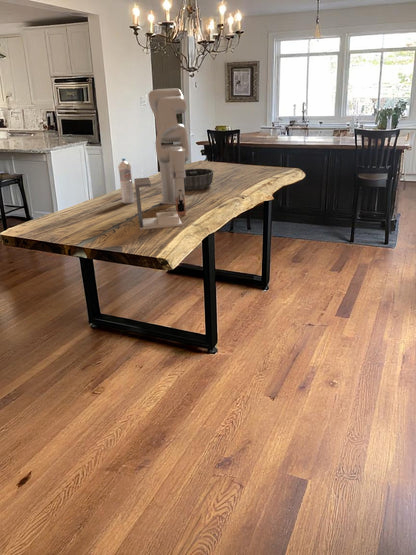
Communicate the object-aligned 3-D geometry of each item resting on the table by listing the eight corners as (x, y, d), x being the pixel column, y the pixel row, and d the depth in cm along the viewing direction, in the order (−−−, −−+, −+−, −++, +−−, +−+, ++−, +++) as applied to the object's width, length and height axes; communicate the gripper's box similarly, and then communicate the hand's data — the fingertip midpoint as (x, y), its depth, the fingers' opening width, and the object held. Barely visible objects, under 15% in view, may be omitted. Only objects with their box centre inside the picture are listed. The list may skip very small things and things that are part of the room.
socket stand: (138, 221, 232) (137, 213, 230) (178, 217, 235) (177, 209, 233) (140, 229, 218) (139, 221, 217) (182, 225, 221) (181, 217, 220)
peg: (176, 213, 242) (174, 196, 238) (184, 212, 243) (183, 195, 239) (177, 215, 238) (175, 198, 234) (185, 214, 239) (184, 197, 235)
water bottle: (123, 204, 264) (118, 160, 254) (122, 202, 270) (116, 158, 260) (135, 203, 266) (130, 159, 256) (133, 200, 272) (129, 157, 262)
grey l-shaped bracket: (138, 219, 232) (134, 178, 224) (152, 217, 233) (148, 177, 225) (139, 227, 218) (135, 184, 210) (154, 226, 219) (150, 183, 211)
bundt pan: (167, 192, 289) (165, 176, 285) (181, 183, 312) (180, 168, 308) (207, 193, 282) (206, 176, 278) (219, 183, 305) (218, 168, 301)
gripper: (168, 172, 239) (171, 206, 246) (172, 178, 224) (175, 215, 231) (183, 171, 240) (185, 205, 248) (187, 177, 225) (190, 213, 232)
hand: (180, 209), depth 239 cm, fingers closed on peg, 4 cm apart
